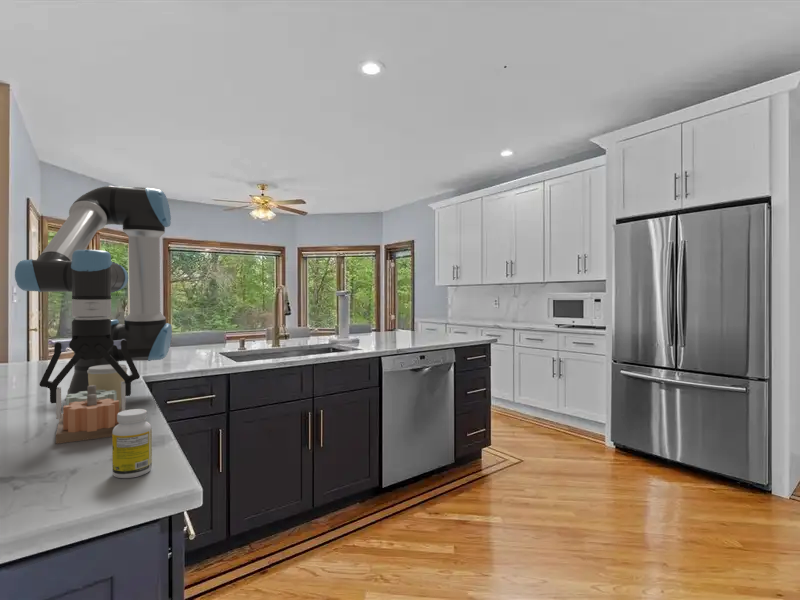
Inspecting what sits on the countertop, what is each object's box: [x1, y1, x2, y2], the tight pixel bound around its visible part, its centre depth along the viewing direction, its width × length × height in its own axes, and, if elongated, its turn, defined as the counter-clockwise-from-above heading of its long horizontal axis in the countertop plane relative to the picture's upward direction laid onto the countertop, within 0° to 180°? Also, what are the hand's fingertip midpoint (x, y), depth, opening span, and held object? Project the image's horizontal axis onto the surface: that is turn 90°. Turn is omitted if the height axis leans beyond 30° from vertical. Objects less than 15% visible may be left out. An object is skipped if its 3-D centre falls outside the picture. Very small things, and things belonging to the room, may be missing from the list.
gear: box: [65, 390, 117, 406], centre depth 118 cm, size 11×11×5 cm
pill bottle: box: [111, 408, 153, 479], centre depth 86 cm, size 6×6×11 cm
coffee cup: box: [87, 364, 128, 408], centre depth 130 cm, size 9×9×12 cm
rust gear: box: [62, 398, 119, 432], centre depth 109 cm, size 11×11×5 cm
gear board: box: [55, 385, 122, 445], centre depth 113 cm, size 20×13×9 cm, turn 33°
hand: (92, 413), depth 108 cm, fingers open, 12 cm apart
